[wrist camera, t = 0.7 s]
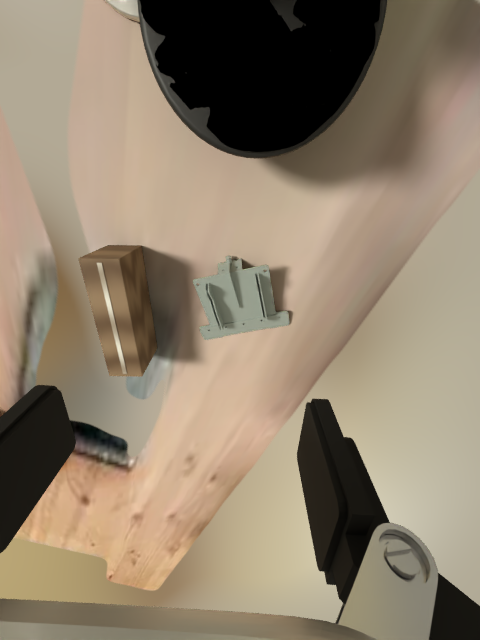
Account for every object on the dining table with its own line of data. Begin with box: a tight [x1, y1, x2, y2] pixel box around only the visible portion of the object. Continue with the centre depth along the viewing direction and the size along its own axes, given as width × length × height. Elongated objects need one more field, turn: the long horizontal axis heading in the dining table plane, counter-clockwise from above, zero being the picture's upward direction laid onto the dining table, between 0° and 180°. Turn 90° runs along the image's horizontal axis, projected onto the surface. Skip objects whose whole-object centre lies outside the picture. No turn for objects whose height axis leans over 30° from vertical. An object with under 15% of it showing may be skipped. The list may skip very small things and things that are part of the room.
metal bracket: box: [193, 256, 289, 340], centre depth 43 cm, size 14×6×15 cm
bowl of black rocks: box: [137, 0, 387, 158], centre depth 22 cm, size 20×20×19 cm
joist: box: [79, 245, 157, 376], centre depth 40 cm, size 18×5×8 cm, turn 0°
